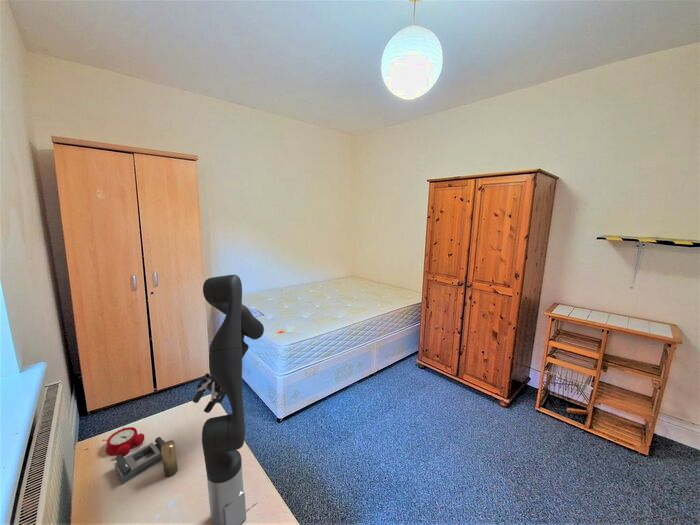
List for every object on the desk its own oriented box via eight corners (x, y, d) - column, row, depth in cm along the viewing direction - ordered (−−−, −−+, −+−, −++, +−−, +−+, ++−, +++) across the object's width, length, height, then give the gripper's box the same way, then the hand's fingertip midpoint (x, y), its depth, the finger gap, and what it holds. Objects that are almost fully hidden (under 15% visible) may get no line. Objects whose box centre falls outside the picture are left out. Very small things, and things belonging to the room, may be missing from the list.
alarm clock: (127, 422, 117) (148, 426, 111) (131, 436, 117) (153, 441, 111) (96, 441, 107) (118, 446, 101) (101, 456, 108) (123, 462, 102)
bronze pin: (179, 471, 99) (176, 444, 97) (167, 479, 96) (163, 451, 94) (174, 465, 102) (171, 438, 100) (162, 473, 98) (158, 445, 96)
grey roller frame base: (172, 454, 106) (171, 442, 105) (123, 484, 94) (121, 471, 93) (163, 442, 111) (161, 431, 110) (114, 470, 99) (112, 458, 98)
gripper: (210, 356, 113) (183, 396, 106) (230, 368, 105) (201, 413, 98) (224, 362, 118) (198, 401, 112) (243, 375, 110) (217, 417, 103)
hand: (200, 407), depth 105 cm, fingers open, 8 cm apart
